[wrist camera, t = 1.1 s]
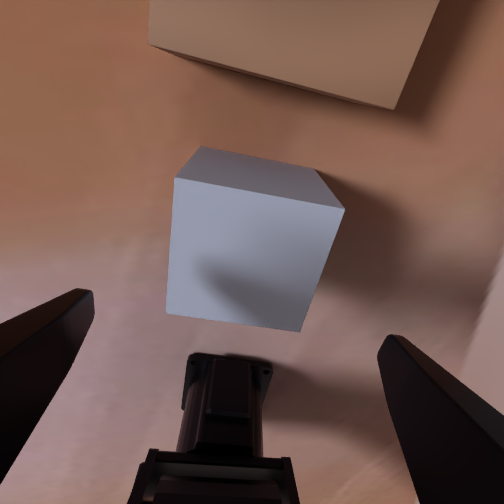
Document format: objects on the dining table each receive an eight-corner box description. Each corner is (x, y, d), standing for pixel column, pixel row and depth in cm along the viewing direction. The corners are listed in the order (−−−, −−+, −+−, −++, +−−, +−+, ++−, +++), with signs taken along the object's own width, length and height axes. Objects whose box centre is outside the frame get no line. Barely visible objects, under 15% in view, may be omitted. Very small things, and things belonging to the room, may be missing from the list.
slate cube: (285, 263, 19) (299, 332, 13) (190, 247, 18) (165, 313, 13) (313, 168, 16) (345, 209, 10) (200, 145, 15) (174, 177, 10)
